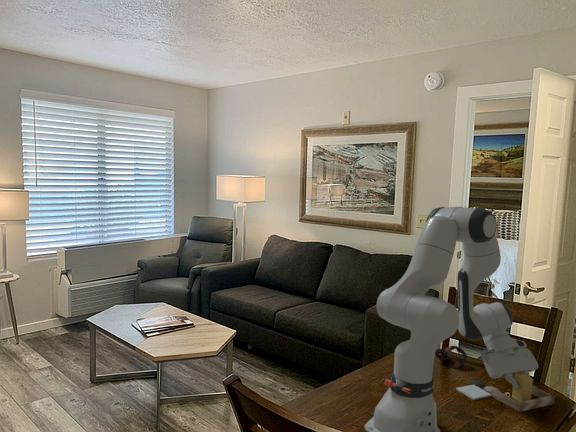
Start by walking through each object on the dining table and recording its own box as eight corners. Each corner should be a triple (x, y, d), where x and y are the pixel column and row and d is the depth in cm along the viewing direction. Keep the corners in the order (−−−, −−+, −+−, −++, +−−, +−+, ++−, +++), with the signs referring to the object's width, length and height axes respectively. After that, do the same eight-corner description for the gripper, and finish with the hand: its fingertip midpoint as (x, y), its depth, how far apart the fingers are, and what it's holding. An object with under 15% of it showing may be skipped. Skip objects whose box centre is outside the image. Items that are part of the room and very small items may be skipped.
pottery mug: (455, 359, 184) (465, 346, 180) (461, 378, 176) (471, 364, 172) (428, 352, 183) (437, 338, 179) (433, 370, 175) (442, 356, 171)
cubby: (519, 411, 140) (519, 404, 140) (491, 396, 150) (492, 389, 150) (554, 403, 146) (555, 396, 146) (525, 389, 157) (526, 382, 156)
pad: (473, 400, 148) (473, 398, 147) (455, 389, 155) (456, 387, 155) (491, 396, 151) (491, 394, 150) (473, 386, 158) (473, 384, 158)
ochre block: (522, 403, 146) (523, 379, 146) (512, 397, 150) (513, 374, 149) (530, 401, 148) (532, 377, 147) (520, 395, 152) (522, 373, 151)
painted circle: (496, 394, 152) (496, 394, 152) (481, 389, 155) (481, 388, 155) (502, 390, 155) (502, 389, 155) (487, 385, 159) (487, 384, 159)
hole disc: (480, 388, 156) (480, 387, 156) (466, 383, 160) (466, 382, 160) (486, 384, 160) (486, 383, 160) (473, 379, 163) (473, 379, 163)
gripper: (484, 347, 150) (506, 387, 142) (528, 340, 158) (551, 378, 150) (473, 355, 155) (494, 395, 146) (516, 348, 162) (538, 386, 154)
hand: (523, 386), depth 148 cm, fingers closed on ochre block, 4 cm apart
